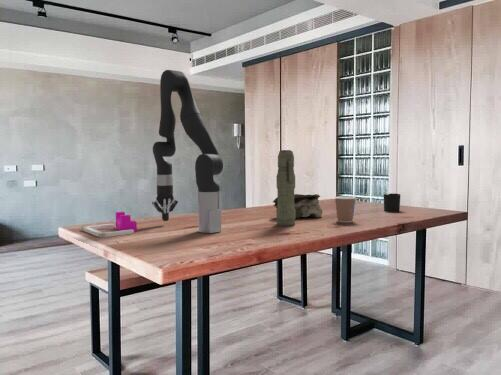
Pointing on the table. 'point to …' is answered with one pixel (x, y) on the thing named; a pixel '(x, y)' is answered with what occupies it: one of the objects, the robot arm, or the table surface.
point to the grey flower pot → (345, 208)
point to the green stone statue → (285, 189)
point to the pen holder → (392, 202)
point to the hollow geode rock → (305, 205)
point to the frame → (107, 234)
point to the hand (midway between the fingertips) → (165, 220)
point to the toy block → (125, 222)
